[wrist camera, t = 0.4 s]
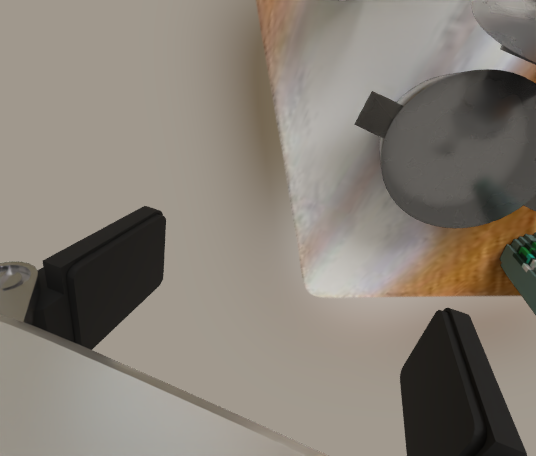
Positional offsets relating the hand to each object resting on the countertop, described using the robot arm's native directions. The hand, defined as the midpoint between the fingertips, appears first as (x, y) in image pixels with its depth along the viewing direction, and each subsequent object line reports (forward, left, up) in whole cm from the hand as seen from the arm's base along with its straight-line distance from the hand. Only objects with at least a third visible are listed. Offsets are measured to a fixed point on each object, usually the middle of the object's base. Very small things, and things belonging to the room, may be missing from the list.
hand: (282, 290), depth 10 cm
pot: (-5, +9, -30) cm, 32 cm away
